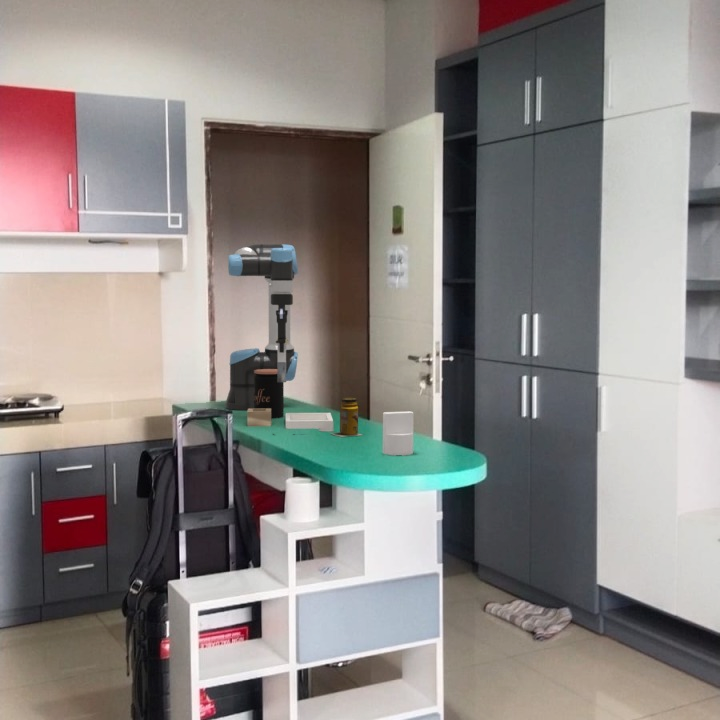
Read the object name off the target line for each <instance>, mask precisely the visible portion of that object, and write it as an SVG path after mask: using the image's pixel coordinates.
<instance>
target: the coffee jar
mask: <svg viewBox="0 0 720 720" xmlns="http://www.w3.org/2000/svg"><path fill="white" fill-rule="evenodd" d="M254 373H255V374H256V375H255V377H254V409H257V408H271V420H272V419H281V418H283V417H284V416H285V415H284V413H285V411H284V407H285V406H284V404H285V403H284V392H285V391H284V390H285V389H284V383H285V382H277V369H258V370H254Z"/></svg>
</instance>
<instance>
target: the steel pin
mask: <svg viewBox="0 0 720 720" xmlns="http://www.w3.org/2000/svg"><path fill="white" fill-rule="evenodd" d="M276 341H278V340H277V339H276ZM285 341H286V342H285V343H288V339H286V340H285ZM277 382H283V383H287V381H286V362H278V343H277Z"/></svg>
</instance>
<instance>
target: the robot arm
mask: <svg viewBox="0 0 720 720" xmlns="http://www.w3.org/2000/svg"><path fill="white" fill-rule="evenodd" d="M297 262H298V260H297V254H296V249H295V247H294V246H293V245H291V244H284V243H279V244H278V243H277V244H271V243H269V244H268V243H267V244H265V243H264V244H261V243H260V244H259V243H257V244H256V243H255V244H249V245H246V246H243V247H240V248H239V249H237V250H236V251H235V252H234V254H230V255H228V263H227V265H228V271H227V272H228V275H229V276H232V277H264V280H265V281H266V282H267V284H268V343H267V345H265V347H264V351H261V350H260V348H246V349H240V350H239V349H238V350H235V351H233V352H231V353H230V355H229V392H228V393H227V396H226V397H227V398H226V400H225V408H226V409H228V410H235V411H236V410H237V411H243V410H245V411H248V409H254V377H255V375H256V374H255V373H254V370H258V369H277V343H278V362H286V382H290V381H293V380H294V379H295V377H296V373H297V367H298V366H297V365H298V357H299V354H298V352H297V351H295V347H294V346H293V345H292V344H291V343H292V342H291V306H292V305H293V304H294V303H293V302H294V295H293V294H292V293H293V292H294V280H295V275H298V273H299V271H298V263H297ZM276 339H277V340H278V341H276ZM286 339H288V343H285V342H286V341H285V340H286Z"/></svg>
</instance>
